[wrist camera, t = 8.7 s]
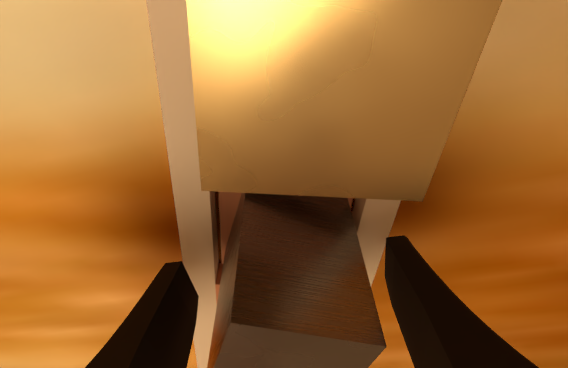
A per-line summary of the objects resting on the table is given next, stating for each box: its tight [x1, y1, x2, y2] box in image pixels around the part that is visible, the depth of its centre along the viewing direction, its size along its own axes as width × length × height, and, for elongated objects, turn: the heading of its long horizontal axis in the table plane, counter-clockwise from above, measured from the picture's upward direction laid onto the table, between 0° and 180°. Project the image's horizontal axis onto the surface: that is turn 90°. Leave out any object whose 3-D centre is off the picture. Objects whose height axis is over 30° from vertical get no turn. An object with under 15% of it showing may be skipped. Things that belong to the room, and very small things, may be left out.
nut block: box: [207, 193, 386, 368], centre depth 12 cm, size 4×4×6 cm
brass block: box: [186, 0, 502, 201], centre depth 8 cm, size 4×4×6 cm
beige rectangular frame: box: [146, 0, 401, 368], centre depth 14 cm, size 8×26×1 cm, turn 176°
